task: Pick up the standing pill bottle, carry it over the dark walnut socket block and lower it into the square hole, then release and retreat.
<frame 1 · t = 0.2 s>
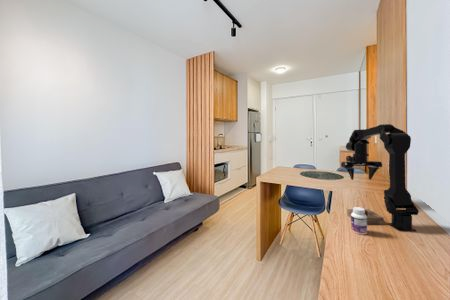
hand: (361, 179, 107), 15 cm above the table, fingers open, 9 cm apart
socket: (364, 219, 89), on the table
pill bottle: (358, 232, 79), on the table
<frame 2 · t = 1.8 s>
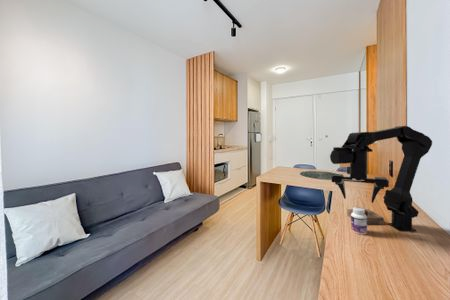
hand: (358, 200, 79), 13 cm above the table, fingers open, 9 cm apart
nothing on the table moved.
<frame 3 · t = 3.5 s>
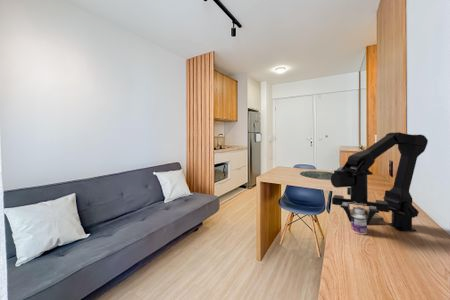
hand: (358, 223, 78), 4 cm above the table, fingers closed on pill bottle, 5 cm apart
pill bottle: (358, 232, 79), on the table, touching gripper
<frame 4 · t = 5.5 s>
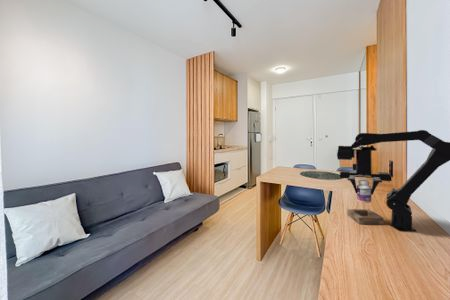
hand: (364, 193, 88), 12 cm above the table, fingers closed on pill bottle, 5 cm apart
pill bottle: (364, 201, 88), point 9 cm above the table, touching gripper
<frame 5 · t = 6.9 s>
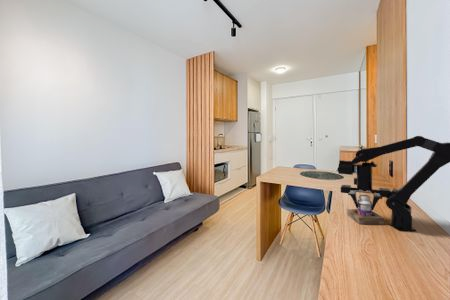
hand: (364, 208, 89), 5 cm above the table, fingers closed on pill bottle, 5 cm apart
pill bottle: (364, 216, 89), point 1 cm above the table, touching gripper
when the fingers open (4 cm above the table, at t = 7.9 s): pill bottle stays where it is, resting in socket.
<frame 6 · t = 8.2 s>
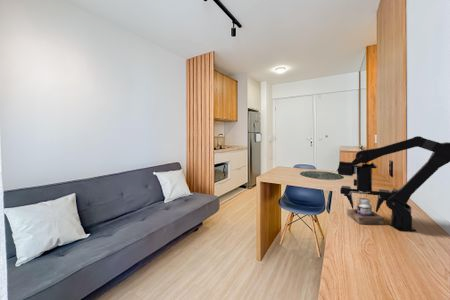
hand: (364, 210, 89), 4 cm above the table, fingers open, 9 cm apart
pill bottle: (364, 220, 89), resting in socket
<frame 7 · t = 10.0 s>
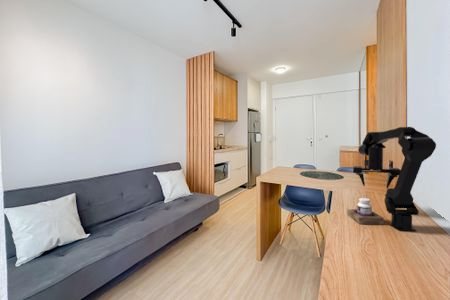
hand: (375, 187, 97), 13 cm above the table, fingers open, 9 cm apart
nothing on the table moved.
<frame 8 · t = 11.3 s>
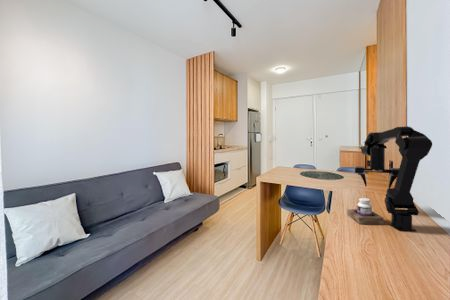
hand: (377, 187, 97), 12 cm above the table, fingers open, 9 cm apart
nothing on the table moved.
at the end: pill bottle 0.1 cm from the socket (horizontally); pill bottle tilted 0°; pill bottle touching table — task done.
